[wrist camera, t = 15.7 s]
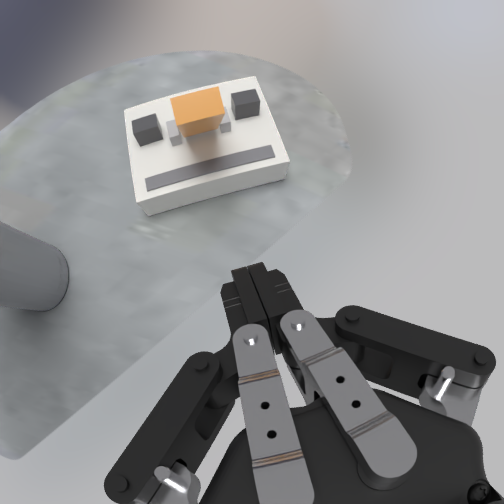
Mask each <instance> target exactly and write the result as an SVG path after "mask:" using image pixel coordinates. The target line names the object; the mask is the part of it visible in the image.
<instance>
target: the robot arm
mask: <svg viewBox="0 0 504 504" xmlns="http://www.w3.org/2000/svg"><path fill="white" fill-rule="evenodd" d="M247 268H248V269H247ZM231 273H232V277H233V282H230V283H226V284H223V286H222V289H221V297H222V301H223V305H224V308H225V312H226V316H227V320H228V323H229V327H230V331H231V338H230V341H229V342H228V344H227V345H226V346H225V347H224V348H223V349H221V350H220V351H218V352H216V353H215V354H213V353H211V352H198V353H196V354H194V355H192V356H191V357H189V359H187V361H186V362H185V364H184V365H183V367H182V368H181V369H180V371H179V373H178V374H177V375H176V377H175V378H174V380H173V381H172V383H171V384H170V385H169V387H168V389H167V390H166V391H165V393H164V394H163V396H162V397H161V399H160V400H159V401H158V403H157V404H156V406H155V407H154V409H153V410H152V412H151V413H150V414H149V416H148V417H147V419H146V420H145V422H144V423H143V424H142V426H141V427H140V429H139V430H138V432H137V433H136V434H135V436H134V437H133V439H132V440H131V442H130V443H129V445H128V446H127V447H126V449H125V450H124V452H123V453H122V455H121V456H120V457H119V459H118V461H117V462H116V463H115V465H114V466H113V467H112V469H111V471H110V472H109V473H108V475H107V476H106V478H105V482H104V489H105V492H106V494H107V496H108V497H109V498H110V499H111V500H112V501H114V502H116V503H118V504H198V503H197V499H198V495H199V492H200V489H201V485H200V481H199V479H198V478H197V476H196V475H195V472H196V471H197V469H198V467H199V466H200V464H201V462H202V461H203V459H204V457H205V455H206V453H207V452H208V450H209V449H210V447H211V445H212V443H213V442H214V440H215V438H216V436H217V435H218V433H219V431H220V429H221V428H222V426H223V424H224V422H225V421H226V419H227V417H228V415H229V413H230V412H231V410H232V408H233V406H234V404H235V399H237V398H238V397H241V403H242V409H243V414H244V419H245V425H246V428H245V429H243V430H242V431H241V432H240V433H239V434H238V435H237V436H236V437H235V438H234V439H233V441H232V442H231V444H230V445H229V447H228V449H227V451H226V453H225V455H224V457H223V459H222V461H221V463H220V465H219V467H218V469H217V470H216V472H215V474H214V476H213V478H212V480H211V482H210V484H209V486H208V488H207V489H206V491H205V493H204V495H203V497H202V499H201V501H200V502H199V504H504V498H503V497H502V496H501V495H500V494H499V493H498V492H497V491H496V490H495V489H494V488H493V487H492V486H491V485H490V484H489V482H488V480H487V478H486V475H485V471H484V465H483V449H482V448H483V447H482V442H481V440H480V437H479V436H478V434H477V432H476V431H475V430H474V429H473V428H472V427H471V425H472V422H473V419H474V416H475V412H476V409H477V405H478V402H479V397H480V394H481V390H482V388H483V387H484V385H485V384H486V382H487V380H488V378H489V376H490V375H491V373H492V372H493V370H494V368H495V366H496V359H495V356H494V354H493V353H492V352H491V351H490V350H489V349H488V348H486V347H484V346H481V345H478V344H474V343H471V342H468V341H465V340H462V339H458V338H455V337H452V336H448V335H446V334H443V333H439V332H436V331H433V330H430V329H427V328H424V327H421V326H417V325H415V324H411V323H408V322H405V321H402V320H399V319H396V318H393V317H390V316H387V315H384V314H381V313H378V312H375V311H372V310H368V309H366V308H363V307H360V306H354V305H352V306H345V307H343V308H342V309H340V310H339V311H338V312H337V313H336V316H335V317H333V318H316V317H314V316H313V315H312V314H311V313H310V312H308V311H305V310H304V309H303V307H302V306H301V304H300V302H299V300H298V298H297V296H296V295H295V293H294V291H293V290H292V288H291V286H290V284H289V282H288V280H287V278H286V276H285V275H284V274H283V273H281V272H280V271H279V270H277V269H275V270H271V271H268V272H267V270H266V268H265V266H264V263H263V262H260V263H256V264H253V265H249V266H247V267H242V268H239V269H235V270H232V271H231ZM68 276H69V274H68V266H67V263H66V260H65V258H64V256H63V254H62V253H61V252H60V251H59V250H58V249H57V248H56V247H54V246H51V245H49V244H47V243H45V242H43V241H41V240H39V239H37V238H34V237H32V236H30V235H28V234H26V233H24V232H21V231H19V230H17V229H15V228H13V227H11V226H9V225H7V224H5V223H3V222H1V221H0V306H1V307H9V308H18V309H26V310H36V311H47V310H50V309H52V308H54V307H55V306H56V305H57V304H58V303H59V302H60V301H61V299H62V298H63V296H64V294H65V292H66V289H67V285H68ZM273 348H274V349H273ZM274 350H275V353H276V355H277V354H281V353H282V355H283V357H284V360H285V362H286V363H287V367H288V369H289V371H290V373H291V375H292V377H293V379H294V380H295V383H296V384H297V386H298V388H299V390H300V392H301V394H302V396H303V398H304V400H305V402H306V405H307V406H304V407H296V408H289V405H288V401H287V397H286V394H285V391H284V387H283V383H282V379H281V376H280V373H279V371H278V368H277V364H276V361H275V357H274ZM366 380H368V381H371V382H373V383H376V384H379V385H381V386H384V387H386V388H389V389H392V390H394V391H397V392H400V393H403V394H405V395H408V396H411V397H414V398H417V399H419V403H420V405H421V406H419V405H416V404H414V403H411V402H409V401H406V400H404V399H401V398H399V397H396V396H394V395H392V394H389V393H387V392H385V391H381V390H378V389H373V388H371V387H370V385H369V384H368V382H367V381H366Z"/></svg>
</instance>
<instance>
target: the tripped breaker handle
mask: <svg viewBox="0 0 504 504" xmlns="http://www.w3.org/2000/svg"><path fill="white" fill-rule="evenodd" d="M170 101H171V105H172V109H173V113H174V117H175V121H176V125H177V127H178V129H179V131H180V132H181V134H182V135H183V137H184V138H185V137H189V136H192V135H196V134H200V133H204V132H207V131H211V130H215V129H218V127H219V125H220V123H221V121H222V119H223V117H224V115H225V110H224V106H223V102H222V98H221V94H220V91H219V87H218V86H217V87H213V88H209V89H204V90H200V91H196V92H192V93H188V94H185V95H181V96H177V97H174V98H170Z"/></svg>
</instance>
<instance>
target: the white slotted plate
mask: <svg viewBox="0 0 504 504" xmlns="http://www.w3.org/2000/svg"><path fill="white" fill-rule="evenodd" d="M217 86H218V87H219V91H220V94H221V98H222V102H223V106H224V110H225V115H224V117H223V119H222V121H221V123H220V125H219V127H218V129H215V130H211V131H207V132H204V133H200V134H196V135H192V136H189V137H185V138H184V137H183V135H182V134H181V132H180V131H179V129H178V127H177V125H176V121H175V117H174V113H173V109H172V105H171V101H170V98H174V97H177V96H181V95H185V94H188V93H192V92H196V91H200V90H204V89H209V88H213V87H217ZM124 114H125V124H126V133H127V141H128V149H129V156H130V164H131V171H132V177H133V184H134V190H135V196H136V202H137V204H138V205H139V206H140V207H141V208H142V209H143V211H144V212H145V213H146V214H147V215H148V216H151V215H154V214H158V213H161V212H164V211H168V210H171V209H174V208H178V207H181V206H185V205H188V204H192V203H195V202H199V201H202V200H206V199H209V198H213V197H217V196H220V195H224V194H228V193H232V192H235V191H239V190H243V189H247V188H251V187H255V186H259V185H263V184H267V183H271V182H275V181H279V180H283V179H285V176H286V173H287V170H288V166H289V163H290V160H289V158H288V155H287V152H286V150H285V147H284V145H283V142H282V140H281V137H280V135H279V132H278V130H277V127H276V125H275V122H274V120H273V117H272V115H271V112H270V110H269V108H268V105H267V103H266V100H265V98H264V96H263V93H262V91H261V89H260V86H259V84H258V82H257V79H256V77H255V76H252V77H247V78H242V79H237V80H232V81H227V82H222V83H218V84H213V85H209V86H205V87H200V88H196V89H192V90H189V91H185V92H181V93H177V94H174V95H170V96H167V97H163V98H160V99H157V100H153V101H150V102H147V103H144V104H141V105H138V106H134V107H132V108H129V109H126V110H124Z"/></svg>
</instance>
